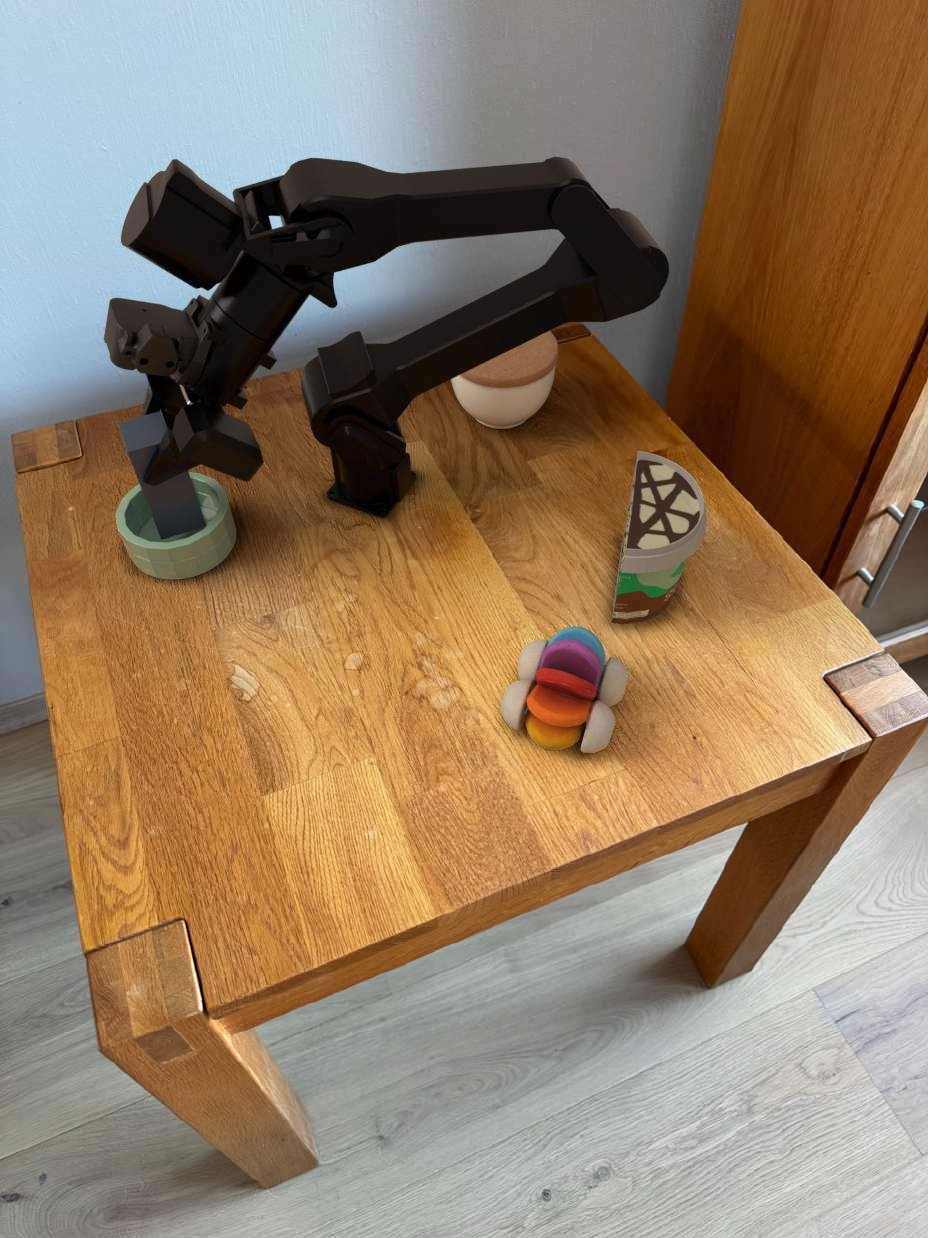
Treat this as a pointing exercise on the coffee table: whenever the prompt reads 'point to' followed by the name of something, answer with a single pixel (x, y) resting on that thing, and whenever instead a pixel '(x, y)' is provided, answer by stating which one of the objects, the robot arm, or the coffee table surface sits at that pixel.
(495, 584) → the coffee table surface
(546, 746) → the rainbow wheeled toy
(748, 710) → the coffee table surface
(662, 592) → the food container
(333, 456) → the robot arm
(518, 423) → the trinket box
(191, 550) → the bowl
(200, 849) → the coffee table surface
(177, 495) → the block
